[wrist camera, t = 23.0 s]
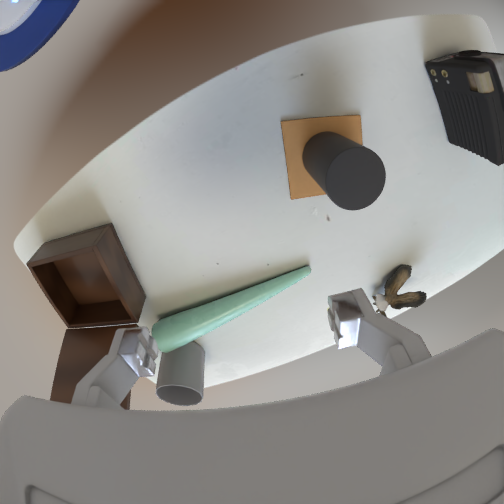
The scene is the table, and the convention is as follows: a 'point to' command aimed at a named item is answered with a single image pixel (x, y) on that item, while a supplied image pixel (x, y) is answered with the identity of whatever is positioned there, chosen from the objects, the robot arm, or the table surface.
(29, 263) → the chest
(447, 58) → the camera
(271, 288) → the mint green cone
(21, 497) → the robot arm
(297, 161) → the cork mat
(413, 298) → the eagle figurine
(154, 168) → the table surface
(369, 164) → the dark grey cylinder
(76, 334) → the chest lid
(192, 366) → the cup
